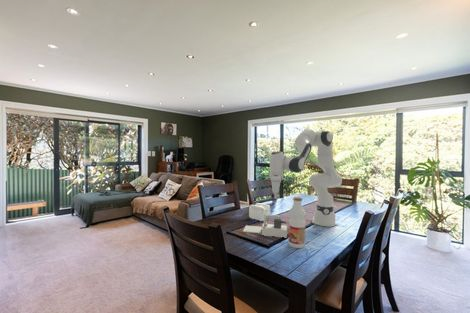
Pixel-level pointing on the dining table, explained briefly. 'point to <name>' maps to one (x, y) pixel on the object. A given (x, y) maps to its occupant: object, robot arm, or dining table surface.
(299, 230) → the fruit juice
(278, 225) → the plug
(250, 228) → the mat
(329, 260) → the dining table surface
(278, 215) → the clip
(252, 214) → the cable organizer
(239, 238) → the dining table surface
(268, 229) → the power strip
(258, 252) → the dining table surface
